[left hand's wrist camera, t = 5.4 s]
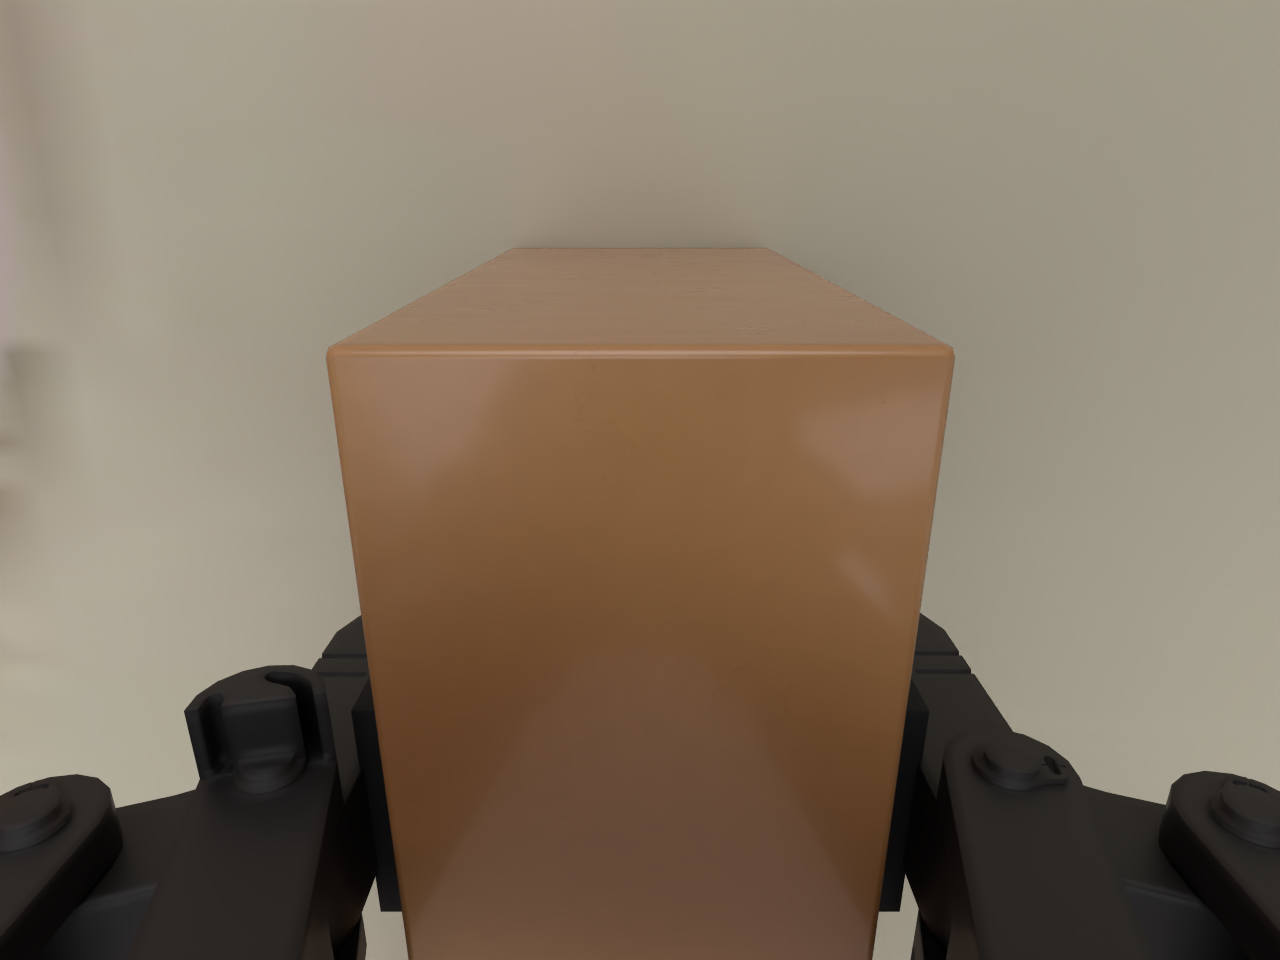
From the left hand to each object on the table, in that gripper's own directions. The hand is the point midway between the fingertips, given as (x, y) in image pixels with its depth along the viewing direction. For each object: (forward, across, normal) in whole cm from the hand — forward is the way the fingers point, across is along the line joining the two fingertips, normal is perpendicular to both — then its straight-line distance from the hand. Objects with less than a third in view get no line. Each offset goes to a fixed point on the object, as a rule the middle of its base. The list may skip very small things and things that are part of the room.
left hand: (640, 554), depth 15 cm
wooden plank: (+1, 0, -32) cm, 32 cm away
